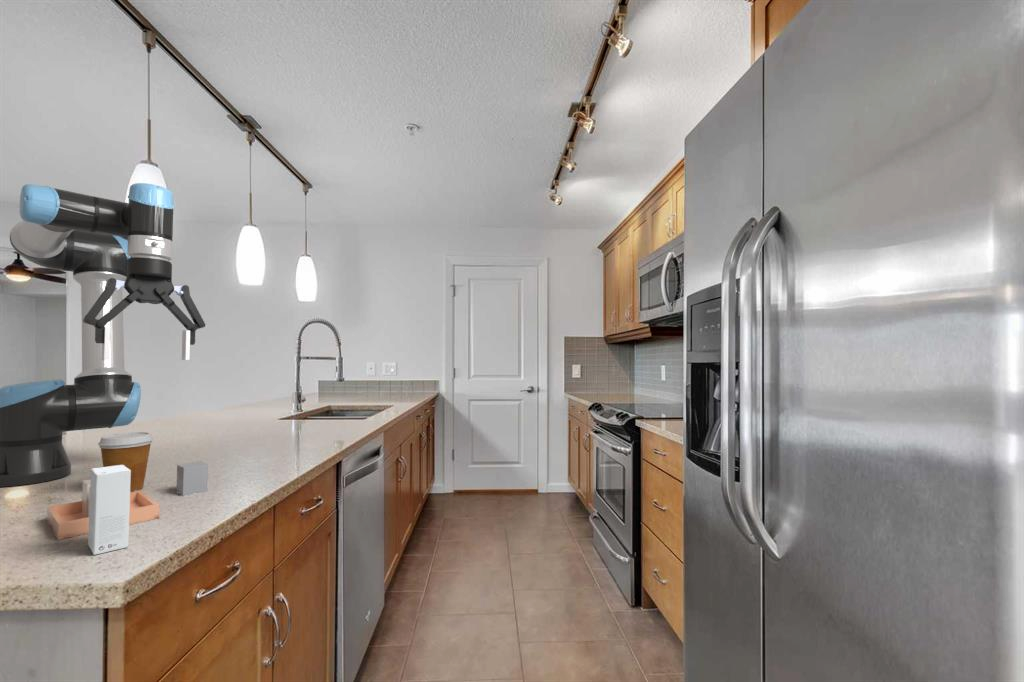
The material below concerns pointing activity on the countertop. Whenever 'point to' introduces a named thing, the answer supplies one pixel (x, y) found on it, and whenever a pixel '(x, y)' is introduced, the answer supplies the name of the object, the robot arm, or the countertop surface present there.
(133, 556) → the countertop surface
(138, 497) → the dish
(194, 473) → the grey rectangular block
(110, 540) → the skincare box
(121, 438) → the disposable coffee cup
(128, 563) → the countertop surface
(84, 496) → the beige rectangular block
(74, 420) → the robot arm
